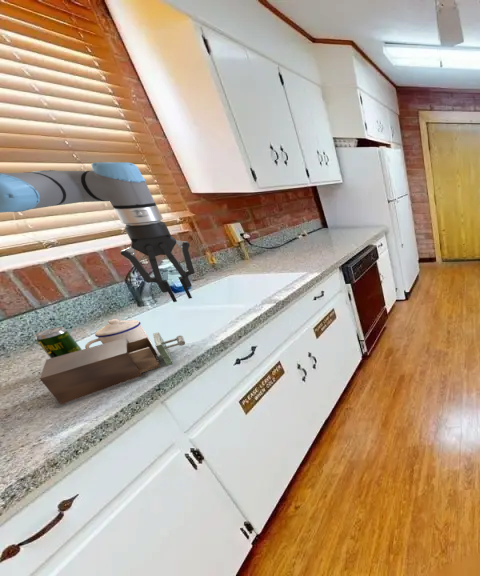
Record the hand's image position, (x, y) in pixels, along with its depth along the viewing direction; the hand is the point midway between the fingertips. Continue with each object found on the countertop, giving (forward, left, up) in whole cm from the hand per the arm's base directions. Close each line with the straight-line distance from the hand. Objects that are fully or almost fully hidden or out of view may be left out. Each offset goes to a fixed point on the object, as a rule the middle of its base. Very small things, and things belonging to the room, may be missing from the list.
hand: (182, 298), depth 90 cm
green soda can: (-19, -27, -19) cm, 38 cm away
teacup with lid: (-16, -17, -19) cm, 30 cm away
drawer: (0, -12, -18) cm, 21 cm away
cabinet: (0, -21, -19) cm, 28 cm away
